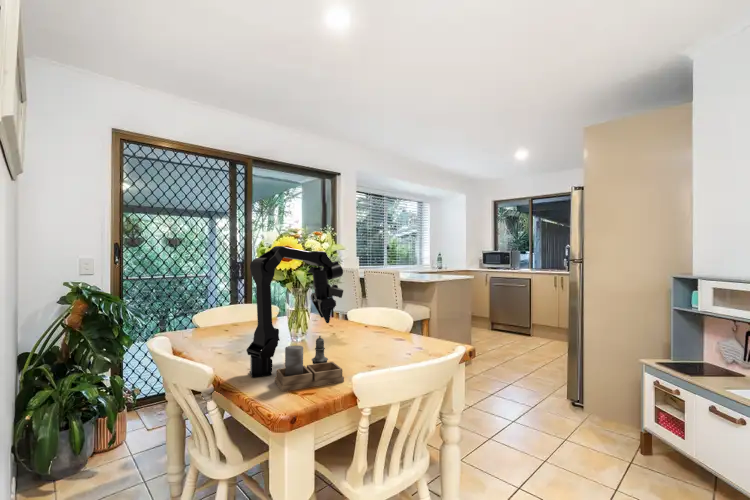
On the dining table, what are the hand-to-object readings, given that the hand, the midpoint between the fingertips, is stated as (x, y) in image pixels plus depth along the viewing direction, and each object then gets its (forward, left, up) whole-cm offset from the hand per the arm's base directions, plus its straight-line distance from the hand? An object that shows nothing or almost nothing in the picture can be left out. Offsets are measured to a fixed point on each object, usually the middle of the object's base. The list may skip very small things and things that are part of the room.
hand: (325, 320), depth 152 cm
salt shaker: (-7, -15, -15) cm, 22 cm away
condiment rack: (-14, -26, -14) cm, 33 cm away
